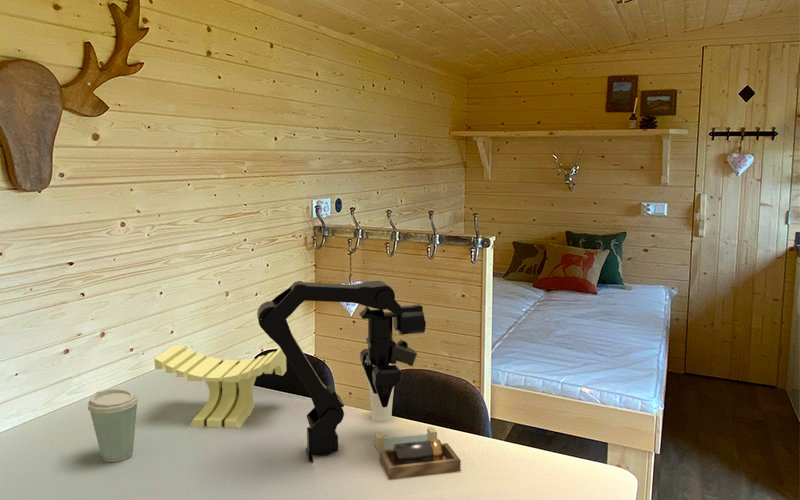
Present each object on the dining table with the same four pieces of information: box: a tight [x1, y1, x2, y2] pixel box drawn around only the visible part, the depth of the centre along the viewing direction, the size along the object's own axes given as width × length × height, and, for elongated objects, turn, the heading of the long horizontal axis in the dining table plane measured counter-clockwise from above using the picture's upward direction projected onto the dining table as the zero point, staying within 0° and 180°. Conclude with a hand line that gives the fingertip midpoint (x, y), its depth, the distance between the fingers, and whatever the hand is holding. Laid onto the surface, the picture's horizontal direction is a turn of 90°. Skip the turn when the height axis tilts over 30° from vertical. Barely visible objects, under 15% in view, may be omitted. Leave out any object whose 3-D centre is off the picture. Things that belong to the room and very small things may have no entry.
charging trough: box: [379, 442, 462, 481], centre depth 145 cm, size 16×9×4 cm, turn 105°
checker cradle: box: [371, 426, 438, 457], centre depth 156 cm, size 15×9×4 cm, turn 105°
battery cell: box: [394, 438, 443, 465], centre depth 146 cm, size 10×5×5 cm, turn 104°
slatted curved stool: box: [154, 344, 287, 429], centre depth 175 cm, size 30×16×18 cm, turn 85°
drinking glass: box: [368, 364, 395, 423], centre depth 172 cm, size 7×7×15 cm
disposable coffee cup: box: [87, 387, 139, 463], centre depth 150 cm, size 11×11×15 cm
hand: (380, 400), depth 155 cm, fingers open, 9 cm apart
